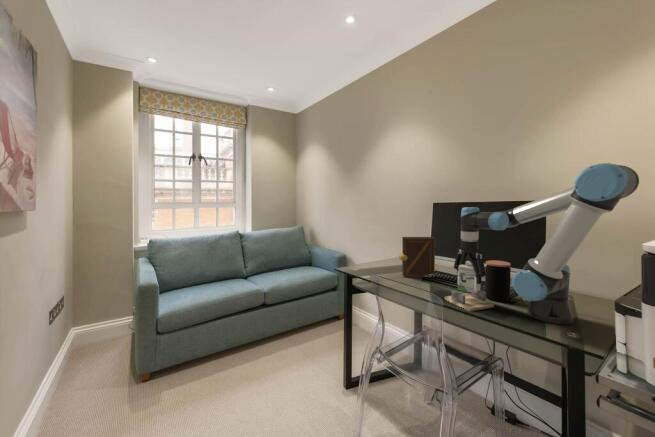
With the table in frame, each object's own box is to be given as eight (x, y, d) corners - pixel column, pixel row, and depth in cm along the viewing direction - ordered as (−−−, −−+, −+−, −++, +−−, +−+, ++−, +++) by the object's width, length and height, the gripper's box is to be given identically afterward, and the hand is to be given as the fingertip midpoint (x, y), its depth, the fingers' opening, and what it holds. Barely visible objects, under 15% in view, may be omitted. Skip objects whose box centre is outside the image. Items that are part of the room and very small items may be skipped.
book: (432, 274, 187) (432, 236, 186) (435, 278, 179) (436, 238, 177) (397, 274, 190) (397, 236, 189) (399, 277, 182) (399, 238, 180)
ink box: (457, 290, 137) (457, 265, 136) (460, 287, 141) (460, 263, 140) (477, 293, 131) (477, 268, 130) (479, 290, 135) (480, 266, 134)
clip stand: (494, 307, 131) (494, 295, 131) (469, 311, 127) (470, 299, 126) (466, 296, 146) (467, 285, 146) (444, 299, 142) (444, 288, 141)
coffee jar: (503, 295, 147) (503, 260, 146) (514, 302, 136) (515, 265, 135) (481, 294, 148) (481, 260, 147) (490, 302, 137) (491, 265, 136)
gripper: (496, 243, 125) (494, 293, 127) (458, 236, 146) (457, 280, 147) (482, 244, 123) (481, 295, 124) (446, 237, 144) (445, 281, 145)
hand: (468, 287), depth 136 cm, fingers closed on ink box, 9 cm apart
